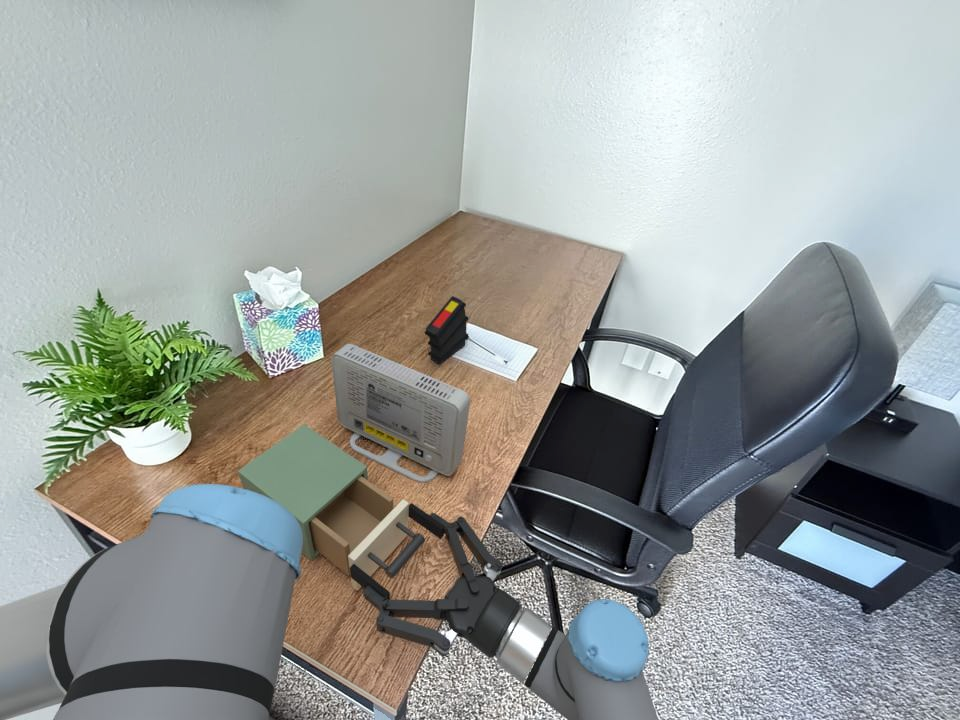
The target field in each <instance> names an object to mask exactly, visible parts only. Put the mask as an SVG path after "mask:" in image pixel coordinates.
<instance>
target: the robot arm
mask: <svg viewBox="0 0 960 720" xmlns="http://www.w3.org/2000/svg"><path fill="white" fill-rule="evenodd" d="M150 518H151V519H150V522H149V524H148V526H147V528H146V529H145V530H143V532H142V533H141V534H140V535H138V536H135V537H132V538H129V539H126V540H124V541H122V542H119V543H115V544H113V545H111V546H109V547H105V548H104V549H102V550H100V551H98V552H97V553H95V554H93V555H92V556H90V557H89V558H87V559H86V560H85V561H84V562H83V563H82V564H80V565H79V567H77V568H76V569H75V570H74V572H72V574H71V575H70V576H69V578H68V579H67V580H66V582H64V583H62V584H60V585H57V586H53V587H50V588H48V589H44V590H43V591H39V592H37V593H34V594H31V595H28V596H25V597H23V598H21V599H20V598H19V599H17V600H14V601H11V602H8V603H6V604H3V605H0V720H9V719H13V718H16V717H20V716H22V715H26V714H29V713H33V712H36V711H40V710H43V709H46V708H50V707H53V706H57V705H59V704H60V705H59V708H58V710H57V711H56V713H55V715H54V717H53V719H52V720H270V715H271V714H270V713H271V709H272V703H273V699H274V694H275V691H276V684H277V680H278V675H279V671H280V670H279V669H280V665H281V658H282V653H283V647H284V642H285V637H286V631H287V627H288V621H289V616H290V611H291V606H292V600H293V594H294V589H295V584H296V580H298V579H299V578H300V577H301V575H302V574H301V573H302V567H301V566H300V564H301V556H302V553H301V551H302V545H303V533H302V529H301V526H300V524H299V522H298V521H297V519H296V518H295V517H294V516H293V515H292V513H291V512H290V511H288V510H287V509H286V508H285V507H284V506H282V505H281V504H279V503H277V502H276V501H274V500H272V499H270V498H268V497H266V496H264V495H261V494H259V493H256V492H253V491H250V490H245V489H243V488H241V487H237V486H234V485H227V484H220V483H197V484H191V485H186V486H182V487H179V488H177V489H174V490H172V491H170V492H169V493H168V494H167V495H165V496H164V497H163V498H162V500H161V501H160V503H159V504H158V507H156V508H154V509H153V510H152V511H151V513H150ZM409 518H410V519H411V520H412V521H414V522H415V523H416V524H418V525H420V526H421V527H422V528H424V529H425V530H426V531H428V532H429V533H431V534H432V535H433V536H435V537H436V538H438V539H439V540H442V539H443V537H444V538H445V540H446V541H447V544H448V546H449V549H450V553H451V555H452V558H453V560H454V564H455V566H456V569H457V571H458V575H459V576H458V577H457V578H456V580H454V584H453V586H452V587H451V588H450V589H448V591H447V592H446V593H445V595H444V598H437V599H435V600H428V599H427V600H425V599H424V600H423V599H422V600H421V599H391V591H389V590H388V589H386V588H385V587H384V586H383V585H382V584H381V583H379V582H378V581H376V579H374V578H373V577H372V576H371V577H370V576H369V575H368V574H366V573H365V572H364V571H363V570H361V569H360V568H359V567H358V566H356V565H355V564H353V565H352V566H351V567H350V575H351V576H350V575H349V576H350V579H351V578H352V579H353V580H355V581H356V582H357V583H358V584H360V585H361V586H362V587H361V588H364V589H363V590H362V593H363V598H364V600H365V601H366V602H368V603H369V604H370V605H371V606H373V607H374V608H375V609H377V611H379V613H378V615H377V616H376V619H375V624H376V625H375V626H376V631H377V632H378V633H381V634H384V635H388V636H391V637H396V638H398V639H402V640H405V641H409V642H412V643H415V644H418V645H422V646H426V647H428V648H431V649H432V650H434V651H435V652H436V653H438V654H439V655H440V656H441V657H447V656H448V655H449V653H450V649H451V647H452V645H453V643H454V642H455V640H456V638H457V637H458V638H463V639H464V640H466V641H467V642H468V643H469V644H470V645H472V647H474V648H475V649H477V651H480V652H481V653H482V654H483V655H485V656H486V657H487V658H488V659H491V658H492V659H493V658H495V657H496V658H497V659H496V663H497V665H498V666H499V667H500V668H502V669H503V670H504V671H505V672H506V673H508V674H509V675H510V676H512V677H513V678H514V679H515V680H517V681H518V682H519V683H520V684H521V685H523V686H524V687H526V688H527V689H528V690H529V691H531V692H532V693H534V695H536V696H537V697H538V698H540V699H541V700H542V701H544V702H545V703H546V704H547V705H548V706H550V707H551V708H552V709H553V710H555V711H556V712H557V713H559V714H560V715H561V716H562V717H564V718H565V719H566V720H659V718H658V714H657V711H656V708H655V705H654V703H653V699H652V696H651V693H650V690H649V687H648V683H647V680H646V678H645V675H644V669H645V666H646V663H647V660H648V657H649V652H650V651H649V647H650V644H649V637H648V633H647V631H646V628H645V626H644V624H643V622H642V621H641V620H640V619H639V617H638V616H637V615H636V614H635V612H634V611H632V610H631V608H629V607H628V606H627V605H625V604H623V603H621V602H619V601H616V600H614V599H609V598H608V599H607V598H600V599H595V600H593V601H591V602H588V603H587V604H585V605H584V606H583V608H582V609H581V610H580V612H579V613H578V614H576V615H575V616H574V618H573V619H572V620H571V622H570V624H569V626H568V629H567V631H566V633H563V632H562V631H561V630H559V629H558V628H556V627H555V626H554V625H552V624H551V623H549V622H547V620H545V619H544V618H542V617H541V616H540V615H538V614H537V613H535V611H533V610H531V609H530V608H529V607H525V608H524V609H521V608H522V605H521V602H520V601H519V600H517V599H516V598H515V597H513V596H512V595H510V594H509V593H507V592H506V591H505V590H503V589H501V588H499V587H498V586H497V585H496V584H495V583H494V581H495V579H496V578H499V577H500V575H501V571H502V569H503V563H502V561H500V560H499V559H498V558H496V557H495V556H493V555H492V554H491V553H490V551H489V550H488V549H487V547H486V546H485V545H484V543H483V542H482V540H481V539H480V538H479V536H478V535H477V534H476V532H475V531H474V530H473V528H472V527H471V525H470V524H469V523H468V522H467V520H466V518H465V517H463V516H459V517H457V519H456V520H455V521H452V522H449V521H447V520H446V519H444V518H443V517H442V516H441V515H439V514H437V513H435V512H431V513H430V514H429V513H427V512H426V511H424V510H423V509H421V508H420V507H418V506H417V505H415V504H414V503H412V502H410V503H409ZM460 538H461V539H460ZM461 540H462V541H463V543H464V544H465V546H466V547H467V549H468V550H469V551H470V552H471V554H472V555H473V557H474V558H475V560H476V561H477V562H478V564H479V566H481V568H482V569H483V573H484V574H485V575H475V573H474V569H473V568H472V564H471V562H469V559H468V557H467V555H466V552H465V549H464V547H463V544H462V542H461ZM401 618H405V619H407V618H408V619H409V618H411V619H434V620H436V621H447V625H448V627H449V630H445V629H441V630H439V631H438V630H436V629H434V628H431V627H428V626H424V625H420V624H418V623H414V622H410V621H407V620H403V619H401Z"/></svg>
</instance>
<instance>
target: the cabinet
mask: <svg viewBox="0 0 960 720" xmlns="http://www.w3.org/2000/svg"><path fill="white" fill-rule="evenodd" d="M237 474H238V477H239V479H240V483H241V486H242V489H245V490H250V491H253V492H256V493H259V494H261V495H264V496H266V497H268V498H270V499H272V500H274V501H276V502H277V503H279V504H281V505H282V506H284V507H285V508H286V509H287V510H288V511H290V512H291V513H292V515H293V516H294V517H295V518H296V519H297V521H298V522H299V524H300V526H301V529H302V533H303V545H302V551H301V555H303V556H305V557H306V559H308V560H309V561H311V562H313V561H314V560H315V559H316V558H317V557H318V556H319V555H320V554H321V553H320V552H318V551H317V550H316V549H315V548H313V543H312V538H311V533H310V529H309V524H308V522H309V521H310V520H312V519H313V518H314V517H315V516H316V515H317V514H318V513H319V512H321V511H322V510H323V509H324V508H325V507H326V506H327V505H328V504H330V503H331V502H332V501H333V500H334V499H335V498H336V497H337V496H339V495H340V494H341V493H342V492H343V491H344V490H345V489H346V488H347V487H349V486H350V485H351V484H352V483H353V482H354V481H355V480H356V479H358V478H359V477H360V476H362V477H363V478H365V479H366V480H368V481H369V476H368V475H369V474H368V466H366V465H365V464H364V463H362V462H361V461H359V460H358V459H356V458H355V457H353V456H352V455H350V454H349V453H347V452H346V451H345V450H343V449H342V448H340V447H338V445H336V444H335V443H333V442H332V441H330V440H329V439H327V438H325V437H324V436H323V435H321V434H320V433H319V432H317V431H315V430H313V429H312V428H311V427H309V426H308V425H307V424H304V423H303V424H302V425H301V426H299V427H298V428H297V429H295V430H294V431H292V432H291V433H289V434H288V435H287V436H284V438H282V439H281V440H279V441H278V442H277V443H275V444H273V445H272V446H271V447H270V448H268V449H266V450H265V451H264V452H262V453H261V454H260V455H258V456H256V457H255V458H254V459H253V460H251V461H250V462H248V463H247V464H245V465H244V466H243V467H241V468H240V469H238V470H237Z"/></svg>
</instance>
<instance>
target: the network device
mask: <svg viewBox="0 0 960 720" xmlns="http://www.w3.org/2000/svg"><path fill="white" fill-rule="evenodd" d="M330 360H331V369H332V378H333V379H332V380H333V386H334V387H333V389H334V396H335V404H336V405H335V406H336V414H337V415H336V416H337V420H338V422H339V424H340V425H341V426H342V427H344V428H346V429H347V430H350V431H352V432H353V434H352V435H351V436H350V440H349V445H350V448H351V450H352V451H353V452H354V453H357V454H359V455H361V456H363V457H365V458H367V459H369V460H371V461H373V462H375V463H377V464H379V465H381V466H383V467H385V468H387V469H389V470H391V471H393V472H396V473H397V474H400V475H402V476H403V477H406V478H408V479H410V481H413V482H416V483H421V484H424V483H429V482H431V481H433V480H434V479H436V477H437V475H438V474H441V475H444V476H447V477H450V476H452V475H453V474H454V472H455V471H456V469H457V468H458V466H459V465H460V464H461V462H462V461H463V456H464V448H465V442H466V436H467V428H468V420H469V413H470V407H471V406H470V404H471V396H470V395H469V394H468V393H467V392H466V391H464V390H463V389H461V388H458V387H456V386H454V385H451V384H448V383H446V382H444V381H441V380H439V379H437V378H434V377H432V376H429V375H427V374H425V373H423V372H420V371H418V370H415V369H412V368H410V367H407V366H405V365H403V364H402V363H398V362H396V361H393V360H392V359H391V360H390V359H388V358H386V357H383V356H381V355H379V354H376V353H374V352H372V351H369V350H367V349H364V348H362V347H359V346H357V345H355V344H352V343H346V344H345V345H344V346H343V347H341V348H339V349H338V350H337V351H336V352H334V354H332V355H331V357H330ZM361 437H364V438H367V439H369V440H370V441H373V442H375V443H377V444H379V445H381V446H383V447H384V448H387V450H386V451H385V453H383V454H381V455H378V454H375V453H373V452H371V451H370V450H369V451H368V450H366V449H364V448H363V447H360V446H358V445H357V444H356V442H358V440H359V439H360V438H361ZM403 456H404V457H406V458H408V459H410V460H412V461H415V462H417V463H418V464H421V465H423V466H425V467H427V468H429V469H431V470H430V471H429V473H428V474H427V475H425V476H420V475H418V474H416V473H414V472H412V471H410V470H408V469H406V468H404V467H401V466H399V464H398V462H399V461H400V460H401V459H402V457H403Z"/></svg>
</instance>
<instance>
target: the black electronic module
mask: <svg viewBox="0 0 960 720" xmlns="http://www.w3.org/2000/svg"><path fill="white" fill-rule="evenodd" d="M466 306H467V304H466V302H464V301H463V300H462V299H460V298H458V297H456V296H454V295H451V297H450V298H449V299H448V300H447V302H446V303H444V305H443V306H442V308H441V309H440V310H439V312H437V314H436V315H435V316H434V318H433V319H432V320H431V321H430V322H429V324H427V326H426V327H425V331H424V335H425V336H428V338H429V340H428V342H427V345H429V346H430V350H429V351H428V353H427V354H428V356H430V360H431V361H433V362H434V363H436V364H438V365H441V364H442V363H444V362H445V361H446V360H448V359H449V358H451V357H452V356H453V355H454V354H456V353H458V351H459V350H461V349H462V348H464V347H465V346H466V342H467V340H468V338H469V333H467V328H468V327H467V322H468V321H469V316H467V315H466V314H467V313H466Z"/></svg>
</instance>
